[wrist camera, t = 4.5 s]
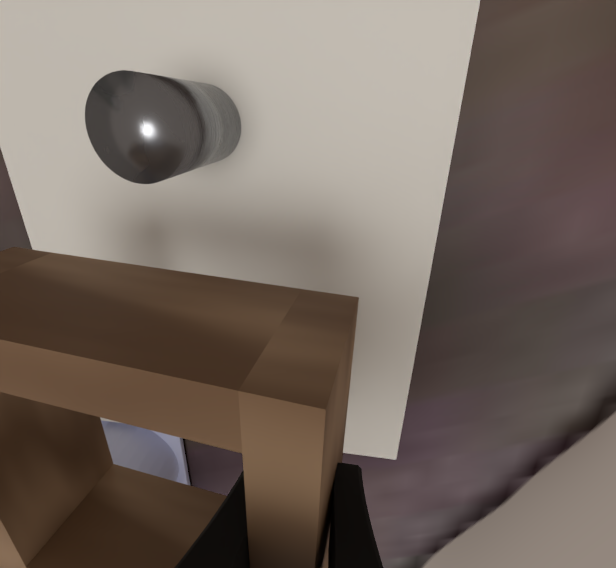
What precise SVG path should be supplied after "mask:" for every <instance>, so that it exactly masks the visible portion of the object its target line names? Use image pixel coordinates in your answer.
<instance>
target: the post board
mask: <svg viewBox="0 0 616 568" xmlns="http://www.w3.org/2000/svg"><path fill="white" fill-rule="evenodd" d="M479 4H480V0H0V147H1V150H2V154H3V157H4V160H5V163H6V166H7V170H8V173H9V176H10V179H11V182H12V185H13V189H14V192H15V195H16V198H17V201H18V205H19V208H20V211H21V214H22V217H23V220H24V224H25V227H26V230H27V233H28V236H29V240H30V243H31V246H32V249H33V250H38V251H45V252H52V253H59V254H66V255H72V256H79V257H86V258H93V259H100V260H107V261H114V262H120V263H127V264H134V265H141V266H148V267H155V268H162V269H168V270H175V271H182V272H189V273H196V274H203V275H210V276H216V277H223V278H230V279H237V280H244V281H251V282H258V283H264V284H271V285H278V286H285V287H292V288H299V289H305V290H312V291H319V292H326V293H333V294H340V295H347V296H353V297H359V302H358V312H357V321H356V331H355V341H354V350H353V360H352V369H351V379H350V389H349V398H348V408H347V418H346V427H345V437H344V446H343V453H349V454H357V455H364V456H372V457H379V458H387V459H394V460H396V457H397V452H398V447H399V441H400V436H401V430H402V425H403V419H404V414H405V408H406V403H407V397H408V392H409V386H410V381H411V376H412V370H413V365H414V359H415V354H416V348H417V343H418V337H419V332H420V326H421V321H422V315H423V310H424V305H425V299H426V294H427V288H428V283H429V277H430V272H431V266H432V261H433V255H434V250H435V244H436V239H437V234H438V228H439V223H440V217H441V212H442V206H443V201H444V195H445V190H446V184H447V179H448V174H449V168H450V163H451V157H452V152H453V146H454V141H455V135H456V130H457V124H458V119H459V113H460V108H461V103H462V97H463V92H464V86H465V81H466V75H467V70H468V64H469V59H470V53H471V48H472V42H473V37H474V32H475V26H476V21H477V15H478V10H479ZM100 419H101V420H102V421H110V422H117V421H113V420H109V419H105V418H101V417H100ZM117 423H121V422H117Z"/></svg>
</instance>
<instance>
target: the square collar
mask: <svg viewBox="0 0 616 568" xmlns="http://www.w3.org/2000/svg"><path fill="white" fill-rule="evenodd" d="M358 302H359V297H353V296H347V295H340V294H333V293H326V292H319V291H312V290H305V289H299V288H292V287H285V286H278V285H271V284H264V283H258V282H251V281H244V280H237V279H230V278H223V277H216V276H210V275H203V274H196V273H189V272H182V271H175V270H168V269H162V268H155V267H148V266H141V265H134V264H127V263H120V262H114V261H107V260H100V259H93V258H86V257H79V256H72V255H66V254H59V253H52V252H45V251H38V250H31V249H25V248H18V247H12V248H9V249H6V250H3V251H0V568H174V567H175V566H176V565H177V564H178V563H179V561H180V560H181V559H182V558H183V556H184V555H185V554H186V552H187V551H188V550H189V548H190V547H191V546H192V544H193V543H194V542H195V541H196V539H197V538H198V537H199V535H200V534H201V533H202V531H203V530H204V529H205V527H206V526H207V525H208V523H209V522H210V520H211V519H212V517H213V516H214V515H215V513H216V512H217V510H218V509H219V507H220V506H221V504H222V503H223V502H224V500H225V499H226V497H227V496H225V495H221V494H218V493H214V492H211V491H207V490H204V489H200V488H197V487H193V486H190V485H186V484H183V483H179V482H176V481H172V480H168V479H165V478H161V477H158V476H154V475H151V474H147V473H144V472H140V471H137V470H133V469H130V468H126V467H123V466H119V465H116V464H113V461H112V457H111V454H110V450H109V447H108V443H107V440H106V436H105V433H104V429H103V426H102V423H101V419H100V417H101V418H105V419H109V420H113V421H117V422H121V423H124V424H128V425H132V426H136V427H140V428H144V429H148V430H152V431H156V432H160V433H164V434H168V435H172V436H176V437H180V438H183V439H187V440H191V441H195V442H199V443H203V444H207V445H211V446H215V447H219V448H223V449H227V450H231V451H235V452H239V453H242V456H243V471H244V486H245V501H246V516H247V532H248V547H249V562H250V568H328V548H329V536H330V524H331V514H332V503H333V492H334V482H335V471H336V467H337V464H338V463H342V456H343V446H344V437H345V427H346V418H347V408H348V398H349V389H350V379H351V369H352V360H353V350H354V341H355V331H356V321H357V312H358Z"/></svg>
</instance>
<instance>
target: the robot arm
mask: <svg viewBox="0 0 616 568" xmlns="http://www.w3.org/2000/svg"><path fill="white" fill-rule="evenodd" d="M101 423H102V426H103V429H104V433H105V436H106V440H107V443H108V447H109V450H110V454H111V457H112V461H113V464H116V465H119V466H123V467H126V468H130V469H133V470H137V471H140V472H144V473H147V474H151V475H154V476H158V477H161V478H165V479H168V480H172V481H176V482H179V483H183V484H186V485H190V480H189V474H188V468H187V462H186V456H185V450H184V444H183V438H180V437H176V436H172V435H168V434H164V433H160V432H156V431H152V430H148V429H144V428H140V427H136V426H132V425H128V424H124V423H117V422H110V421H102V420H101ZM174 568H250V562H249V547H248V532H247V516H246V501H245V486H244V471H243V472H242V473H241V475H240V477H239V478H238V480H237V482H236V483H235V485H234V486H233V488H232V489H231V491H230V493H229V494H228V496H227V497H226V499H225V500H224V502H223V503H222V504H221V506H220V507H219V509H218V510H217V512H216V513H215V515H214V516H213V517H212V519H211V520H210V522H209V523H208V525H207V526H206V527H205V529H204V530H203V531H202V533H201V534H200V535H199V537H198V538H197V539H196V541H195V542H194V543H193V544H192V546H191V547H190V548H189V550H188V551H187V552H186V554H185V555H184V556H183V558H182V559H181V560H180V561H179V563H178V564H177V565H176V566H175V567H174ZM328 568H383V566H382V562H381V559H380V555H379V552H378V548H377V545H376V541H375V538H374V534H373V530H372V526H371V522H370V518H369V514H368V509H367V505H366V500H365V494H364V488H363V481H362V471H361V468H360V467H359V466H358V465H352V464H345V463H338V464H337V467H336V471H335V482H334V492H333V503H332V514H331V524H330V536H329V548H328Z"/></svg>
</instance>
